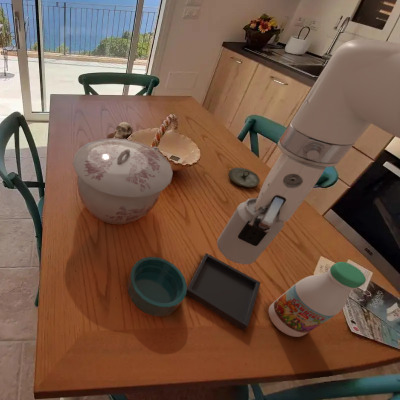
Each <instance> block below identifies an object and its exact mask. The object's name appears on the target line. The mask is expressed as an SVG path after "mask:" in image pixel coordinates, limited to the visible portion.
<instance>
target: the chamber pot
mask: <svg viewBox="0 0 400 400" xmlns="http://www.w3.org/2000/svg"><path fill="white" fill-rule="evenodd" d="M72 166H73V168H74V171H75V173H76V175H77V178H76V179H77V180H76V187H77V192H78V195H79V196H78V197H79V199H80V202H81V203H82V205H83V206H84V207H85V209H87V211H88V212H89V213H90V214H91V215H92V216H93V217H94V218H96V219H98V220H99V221H101V222H104V223H107V224H110V225H118V226H119V225H127V224H131V223H133V222H135V221H136V222H137V221H138V220H139V219H142V218H144V217H145V216H147V215H148V214H149V213H150V212H151V211H152V210H153V209H154V207H155V206H156V204H157V203H158V201H159V199H160V196H161V193H162V192H163V191H164V190H165V189H166V188H167V187H168V186H169V185H170V184H171V182H172V178H173V174H174V173H173V169H172V166H171V163H170V162H169V160H167V158H166V157H165V156H164V155H163V153H161V150H160V148H159V147H157V146H155V145H154V146H153V147H152V146H149V145H147V144H145V143H143V142H141V141H136V140H135V141H132V140H128V139H118V138H110V139H108V138H100V139H96V140H93V141H90V142H88V143H86V144H84V145H83V146H81V147H79V149H78V150H77V151H76V152H75V153H74V155H73V161H72Z"/></svg>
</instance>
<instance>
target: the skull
mask: <svg viewBox="0 0 400 400" xmlns="http://www.w3.org/2000/svg"><path fill="white" fill-rule="evenodd" d="M133 130H134V127H133V126H132V125H131V124H130V123H129V122H127V121H122V122H120V123H119V124H118V125H116V127H115V130H114V132H110V133H108V135H107V138H106V139H110V138H118V139H127V138H128V137H129V136H130V135H131V134H132V135H133V133H134V131H133ZM132 135H131V136H132Z"/></svg>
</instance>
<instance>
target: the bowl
mask: <svg viewBox="0 0 400 400" xmlns="http://www.w3.org/2000/svg"><path fill="white" fill-rule="evenodd" d="M187 287H188V285H187V282H186V279H185V276H184V275H183V273H182V271H181V270H180V269H179V268H178V267H177V266H176V265H175V264H174V263H172V262H171V261H169V260H167V259H165V258H161V257H158V256H148V257H143V258H140V259H138V260H137V261H136V262H135V263H134V264H133V266H132V267H131V270H130V273H129V276H128V278H127V283H126V289H127V294H128V296H129V298H130V300H131V302H132V303H133V304H134V306H135V307H137V308H138V309H139V310H140V311H142V312H143V313H145V314H147V315H150V316H153V317H167V316H169V315H172V314H173V313H174V312H176V311H177V310H178V309H179V307H180V305H181V304H182V303H183V301H184V299H185V298H186V296H187V295H186V292H187Z"/></svg>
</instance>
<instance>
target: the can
mask: <svg viewBox="0 0 400 400" xmlns="http://www.w3.org/2000/svg"><path fill="white" fill-rule="evenodd" d="M256 201H257V197H250V198H248V199H246V201H243V202H240V203H239V205H238V206H237V207H236V208H235V210H234V211H233V213H232V215H231V217H230V218H229V220H228V222H227V224H226V225H225V226H224V228H223V229H222V231H221V233H220V234H219V236H218V238H217V239H216V240H217V241H216V245H217V249H218V251H219V252H220V253H221V254H222V255H223V257H225V258H226V259H227V260H228V261H231V262H232V263H235V264H239V265H251V264H253V263H255V262H256V261H257V259H258V258H259V257H260V256H261V255H262V254H263V253H264V251H265V250H266V249H267V247H268V246H269V245H270V244H271V243H272V242H273V240H275V239H276V237H277V236H278V235H279V233H280V232H281V231H282V230H283V228H284V226H285V222H282V221H281V220H279V215H278V217H277V218H276V220H275V222H274V223H273V225H272V226H271V228H270V230H269V232H268V233H267V234H266V236H265V237H264V238H263V239H262V241H261V242H260V243H259V244H258V246H253V245H251V244H249V243H247V242H245V241H243V240H241V239H239V238H238V235H239V233H240V232H241V230H242V229H243V228H244V226H245V225H246V223H247V222H248V221H251V219H252V218H253V216H254V214H255V213H256V211H257V210H256V209H255V204H256ZM262 209H264V210H266V211H267V209H268V207H267V206H264V207H263V208H262ZM264 215H265V214H263V213H260V215H259V216H258V218H257V219H260V220H261V219H262V218H263V216H264Z"/></svg>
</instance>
